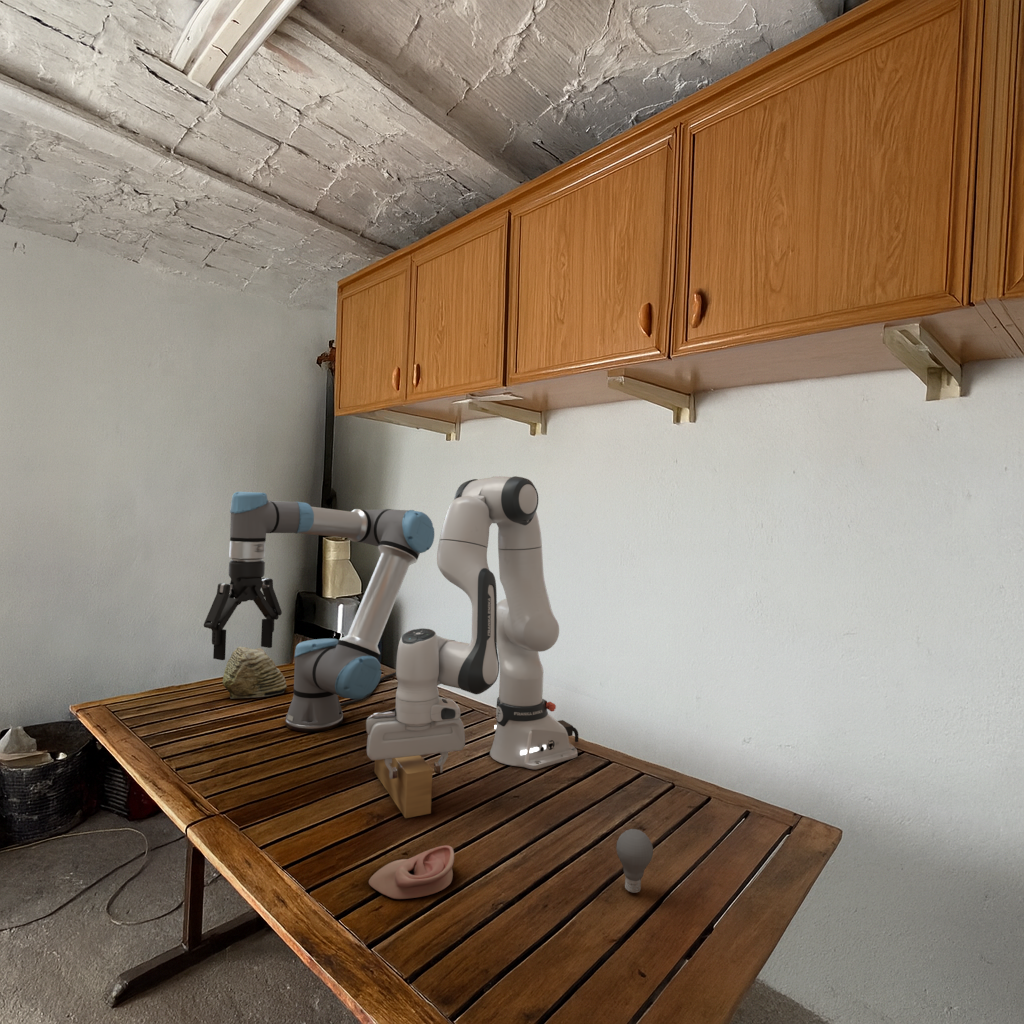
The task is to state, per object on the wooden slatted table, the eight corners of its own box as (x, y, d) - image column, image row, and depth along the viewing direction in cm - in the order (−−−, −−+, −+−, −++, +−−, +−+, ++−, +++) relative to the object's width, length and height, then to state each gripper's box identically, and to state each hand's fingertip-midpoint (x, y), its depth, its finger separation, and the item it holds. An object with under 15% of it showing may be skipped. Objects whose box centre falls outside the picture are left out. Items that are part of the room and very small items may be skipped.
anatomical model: (361, 868, 102) (389, 832, 113) (360, 893, 102) (388, 854, 113) (440, 882, 99) (460, 843, 110) (439, 907, 99) (459, 866, 110)
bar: (374, 772, 147) (375, 733, 146) (397, 768, 149) (398, 730, 149) (405, 818, 126) (407, 773, 126) (430, 813, 129) (432, 769, 129)
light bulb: (610, 879, 108) (613, 822, 108) (644, 879, 109) (647, 822, 109) (619, 902, 102) (622, 840, 102) (655, 901, 103) (658, 840, 103)
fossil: (218, 695, 195) (220, 647, 195) (278, 685, 208) (279, 640, 207) (228, 703, 189) (230, 653, 188) (289, 692, 201) (290, 645, 201)
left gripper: (213, 565, 131) (209, 667, 131) (299, 557, 154) (295, 644, 154) (187, 562, 134) (184, 662, 134) (275, 555, 157) (272, 640, 157)
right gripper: (367, 719, 125) (366, 788, 125) (467, 709, 132) (466, 775, 132) (364, 708, 131) (363, 774, 131) (460, 700, 137) (459, 762, 138)
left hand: (243, 652), depth 144 cm, fingers open, 13 cm apart
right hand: (416, 774), depth 132 cm, fingers open, 8 cm apart
